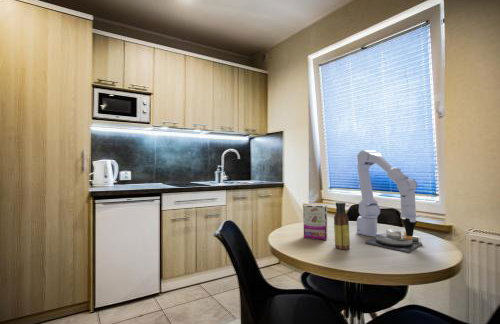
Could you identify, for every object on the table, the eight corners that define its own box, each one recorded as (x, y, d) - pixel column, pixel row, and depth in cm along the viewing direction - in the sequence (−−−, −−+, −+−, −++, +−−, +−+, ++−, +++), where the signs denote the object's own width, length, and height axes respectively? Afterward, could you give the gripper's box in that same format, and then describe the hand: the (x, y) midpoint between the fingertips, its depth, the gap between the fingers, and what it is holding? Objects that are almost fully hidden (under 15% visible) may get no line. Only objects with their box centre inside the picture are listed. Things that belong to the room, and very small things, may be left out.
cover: (388, 238, 121) (388, 232, 121) (384, 235, 127) (384, 229, 127) (403, 239, 120) (403, 232, 120) (398, 236, 126) (398, 229, 126)
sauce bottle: (349, 246, 119) (349, 201, 119) (350, 250, 113) (349, 203, 113) (334, 245, 121) (334, 201, 121) (333, 249, 115) (333, 203, 116)
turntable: (380, 245, 117) (379, 234, 117) (372, 236, 132) (372, 227, 132) (418, 247, 114) (417, 236, 114) (405, 238, 129) (405, 228, 129)
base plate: (365, 243, 124) (365, 236, 124) (381, 236, 136) (381, 229, 136) (408, 252, 110) (408, 244, 110) (422, 244, 122) (421, 236, 122)
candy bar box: (327, 238, 133) (327, 205, 133) (326, 240, 129) (326, 206, 129) (305, 235, 137) (305, 203, 138) (303, 238, 133) (303, 205, 133)
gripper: (423, 207, 113) (425, 240, 112) (413, 203, 126) (415, 232, 126) (404, 207, 115) (406, 239, 114) (397, 203, 129) (398, 232, 128)
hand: (409, 235), depth 120 cm, fingers closed, pressing on turntable
